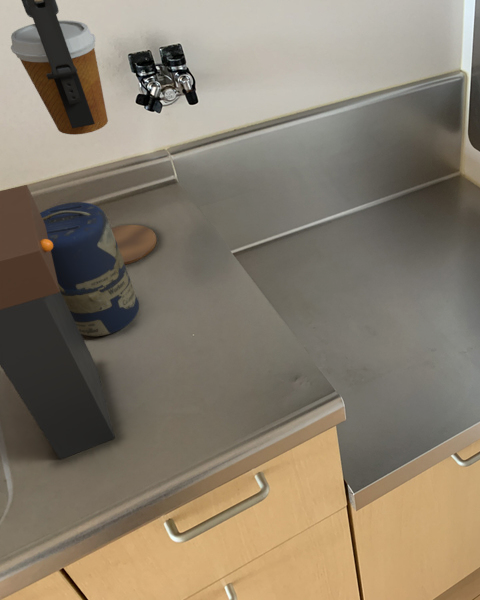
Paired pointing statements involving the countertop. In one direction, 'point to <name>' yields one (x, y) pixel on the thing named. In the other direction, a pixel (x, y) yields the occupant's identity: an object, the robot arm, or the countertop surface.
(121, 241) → the cork coaster
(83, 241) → the canister
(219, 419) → the countertop surface
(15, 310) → the wood-topped grey pedestal
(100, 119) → the disposable coffee cup
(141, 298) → the countertop surface
